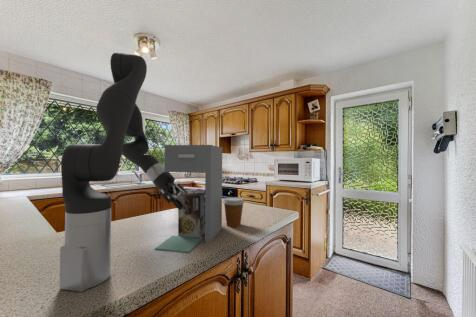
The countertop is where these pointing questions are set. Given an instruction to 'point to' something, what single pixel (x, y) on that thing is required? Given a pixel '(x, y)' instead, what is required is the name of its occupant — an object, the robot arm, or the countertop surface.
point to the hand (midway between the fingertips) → (186, 205)
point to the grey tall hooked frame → (210, 164)
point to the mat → (179, 244)
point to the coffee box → (191, 215)
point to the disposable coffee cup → (233, 211)
